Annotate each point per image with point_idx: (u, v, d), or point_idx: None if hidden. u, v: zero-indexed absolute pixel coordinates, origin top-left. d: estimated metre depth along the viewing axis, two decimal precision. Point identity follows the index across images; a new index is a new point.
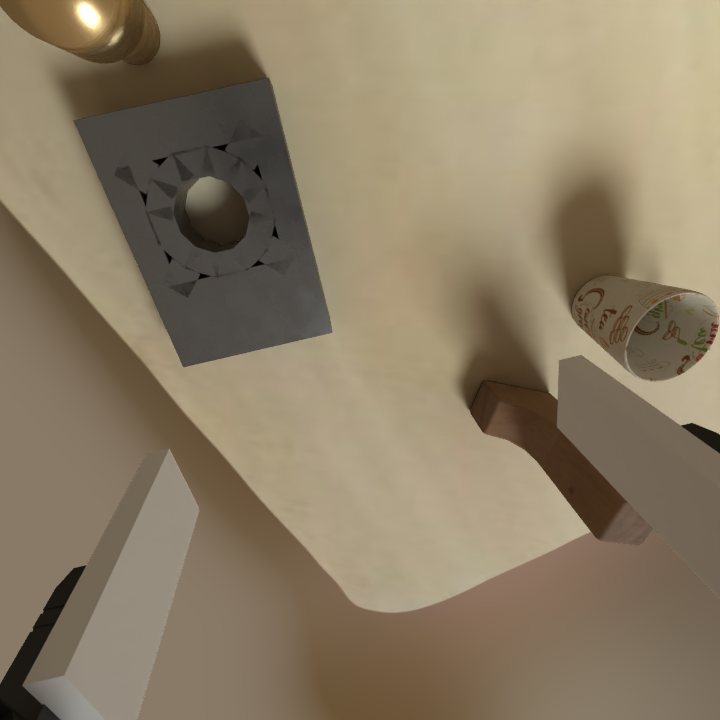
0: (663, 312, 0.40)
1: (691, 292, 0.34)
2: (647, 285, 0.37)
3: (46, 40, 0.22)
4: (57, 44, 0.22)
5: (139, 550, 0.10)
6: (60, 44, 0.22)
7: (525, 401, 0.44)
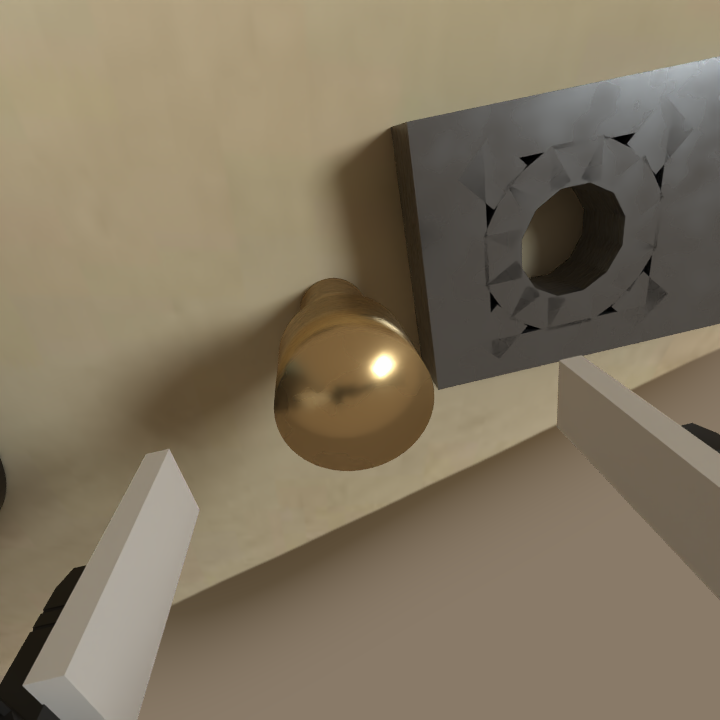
0: None
1: None
2: None
3: (427, 422, 0.16)
4: (430, 411, 0.16)
5: (139, 550, 0.10)
6: (431, 409, 0.16)
7: None
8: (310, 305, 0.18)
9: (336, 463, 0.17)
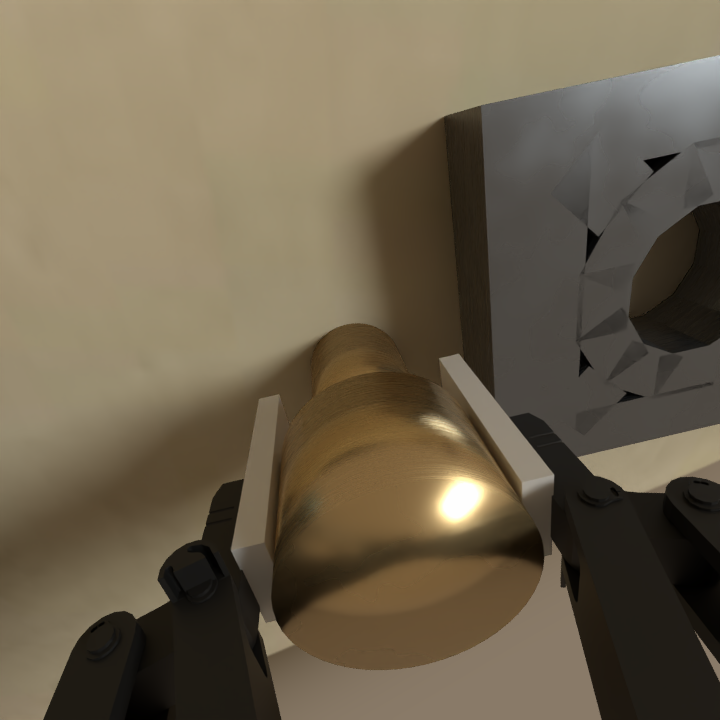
0: None
1: None
2: None
3: (526, 602, 0.10)
4: (533, 585, 0.10)
5: (278, 468, 0.12)
6: (536, 583, 0.10)
7: None
8: (330, 390, 0.12)
9: (373, 661, 0.10)
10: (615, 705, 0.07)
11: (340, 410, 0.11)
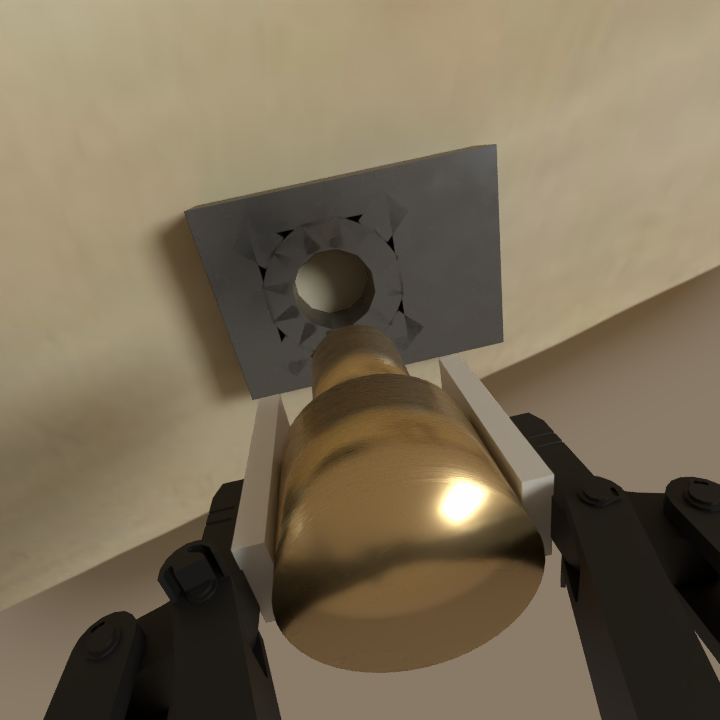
0: None
1: None
2: None
3: (526, 605, 0.10)
4: (534, 588, 0.10)
5: (279, 468, 0.12)
6: (537, 586, 0.10)
7: None
8: (331, 392, 0.12)
9: (374, 664, 0.10)
10: (615, 705, 0.07)
11: (340, 412, 0.10)
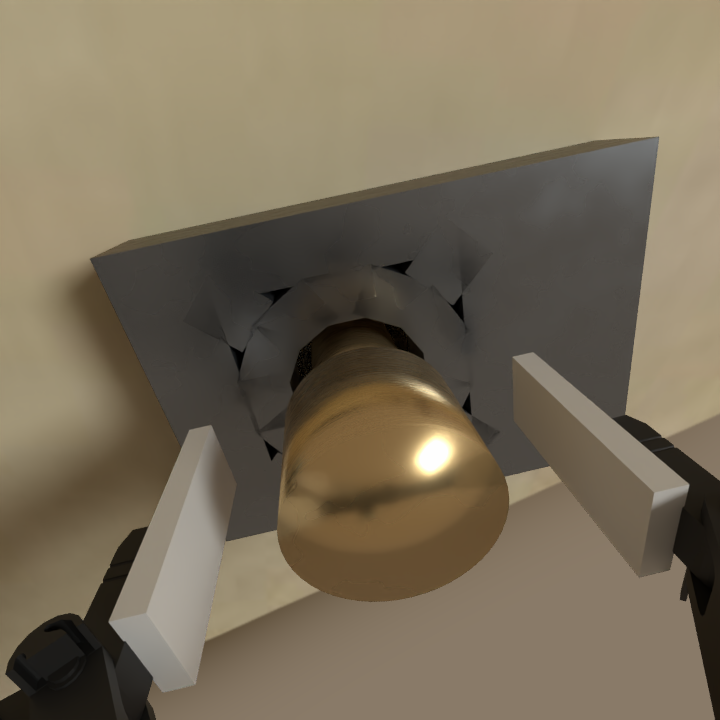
0: None
1: None
2: None
3: (495, 540, 0.11)
4: (501, 525, 0.11)
5: (194, 513, 0.11)
6: (503, 523, 0.11)
7: None
8: (328, 363, 0.13)
9: (364, 593, 0.12)
10: None
11: (336, 377, 0.12)
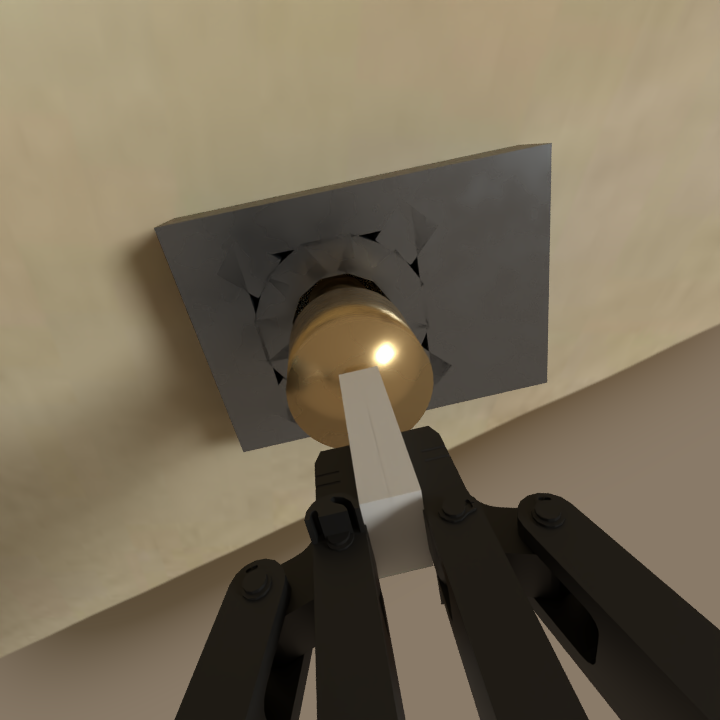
0: None
1: None
2: None
3: (426, 405, 0.18)
4: (430, 395, 0.17)
5: None
6: (431, 392, 0.17)
7: None
8: (319, 297, 0.19)
9: (342, 443, 0.18)
10: None
11: (324, 303, 0.18)
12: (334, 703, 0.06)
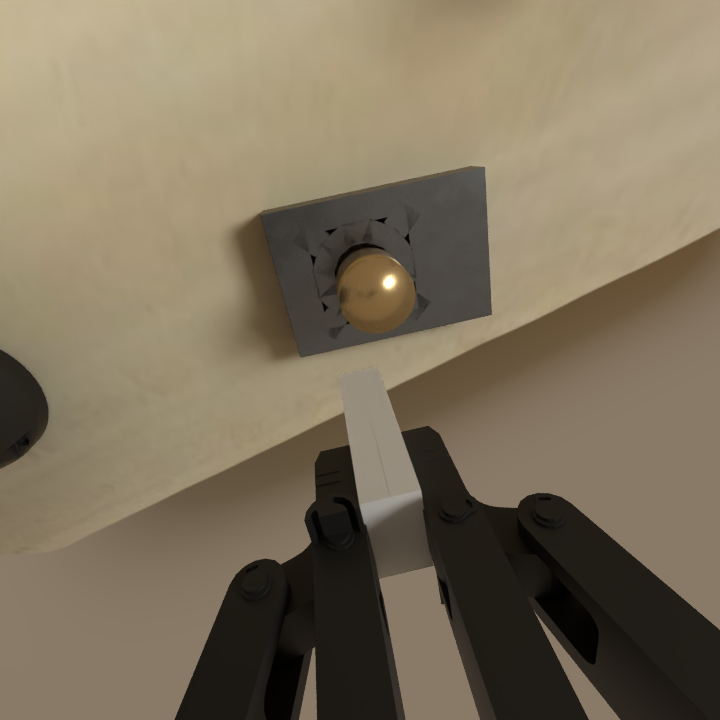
0: None
1: None
2: None
3: (412, 307, 0.33)
4: (414, 302, 0.33)
5: None
6: (414, 300, 0.33)
7: None
8: (353, 253, 0.35)
9: (367, 328, 0.34)
10: None
11: (357, 255, 0.34)
12: (334, 703, 0.06)
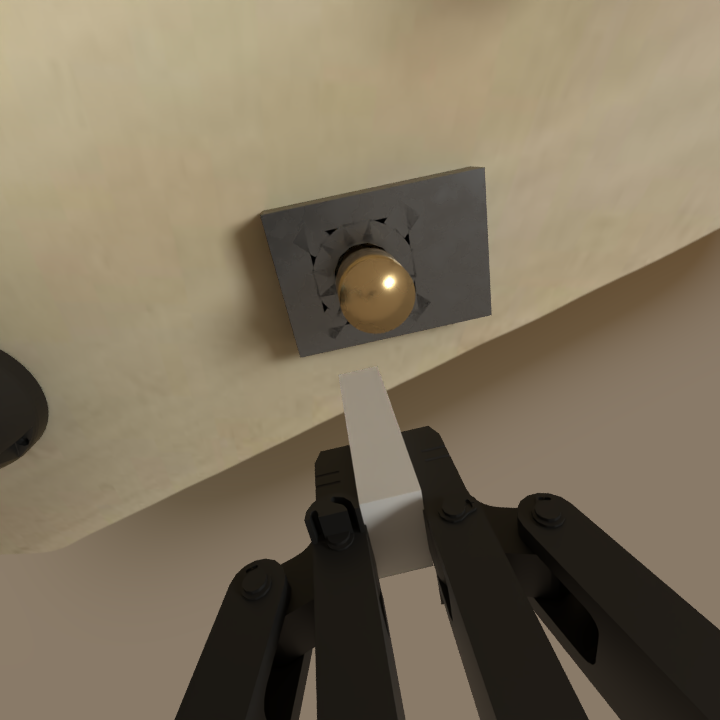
0: None
1: None
2: None
3: (412, 308, 0.33)
4: (413, 302, 0.33)
5: None
6: (414, 300, 0.33)
7: None
8: (353, 253, 0.35)
9: (367, 328, 0.34)
10: None
11: (357, 255, 0.34)
12: (334, 703, 0.06)
